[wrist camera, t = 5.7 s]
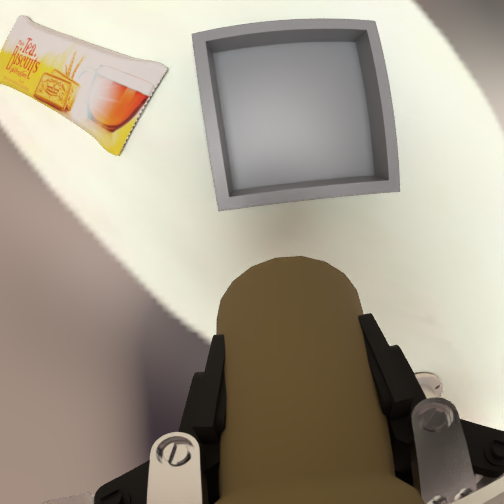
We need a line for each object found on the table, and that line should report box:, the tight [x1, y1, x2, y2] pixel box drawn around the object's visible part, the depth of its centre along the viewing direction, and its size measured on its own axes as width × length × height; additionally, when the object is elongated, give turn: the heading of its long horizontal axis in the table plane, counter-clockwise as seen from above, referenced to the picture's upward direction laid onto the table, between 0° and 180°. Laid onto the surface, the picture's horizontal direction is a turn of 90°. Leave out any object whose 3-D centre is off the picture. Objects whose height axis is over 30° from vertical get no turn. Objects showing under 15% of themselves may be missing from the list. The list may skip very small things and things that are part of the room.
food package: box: [0, 15, 168, 156], centre depth 22 cm, size 27×2×10 cm
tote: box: [192, 19, 400, 211], centre depth 22 cm, size 15×15×4 cm
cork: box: [214, 256, 426, 504], centre depth 7 cm, size 6×6×11 cm
